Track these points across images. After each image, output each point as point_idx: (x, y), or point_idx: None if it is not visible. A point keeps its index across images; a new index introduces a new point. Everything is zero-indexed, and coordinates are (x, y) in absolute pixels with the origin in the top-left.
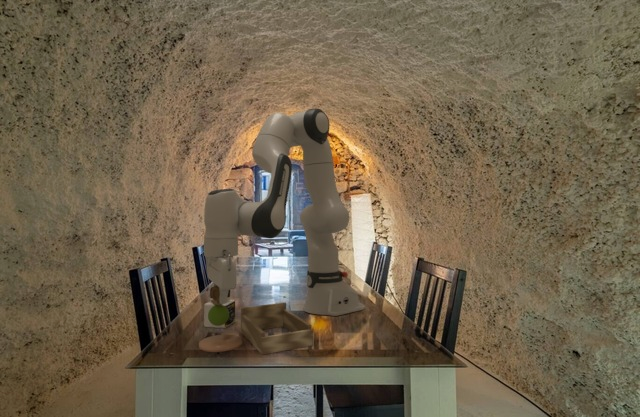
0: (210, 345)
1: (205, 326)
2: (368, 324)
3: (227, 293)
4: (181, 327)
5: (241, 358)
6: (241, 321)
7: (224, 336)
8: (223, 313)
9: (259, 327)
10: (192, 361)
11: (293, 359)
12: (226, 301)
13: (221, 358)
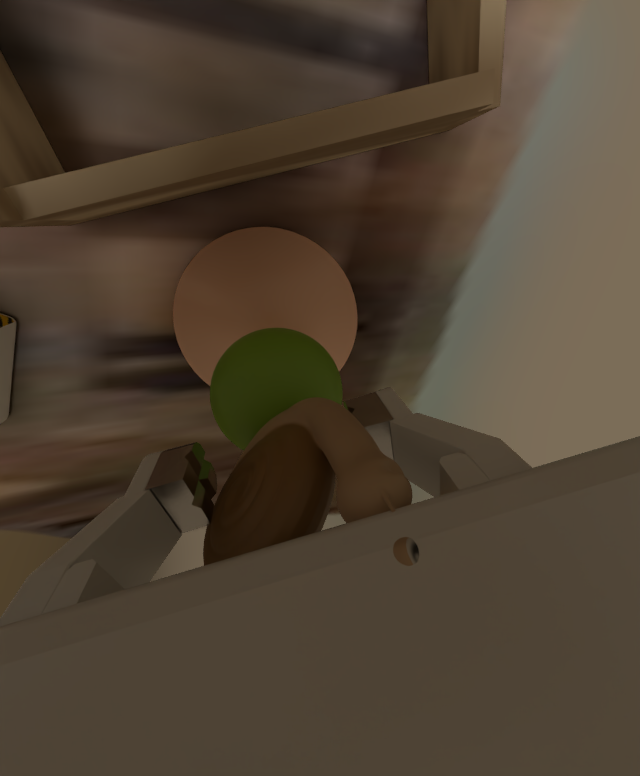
0: None
1: (7, 413)
2: None
3: (458, 430)
4: (31, 495)
5: (444, 236)
6: (45, 222)
7: (205, 316)
8: (335, 371)
9: (1, 69)
10: (402, 397)
11: None
12: (394, 394)
13: (414, 313)
